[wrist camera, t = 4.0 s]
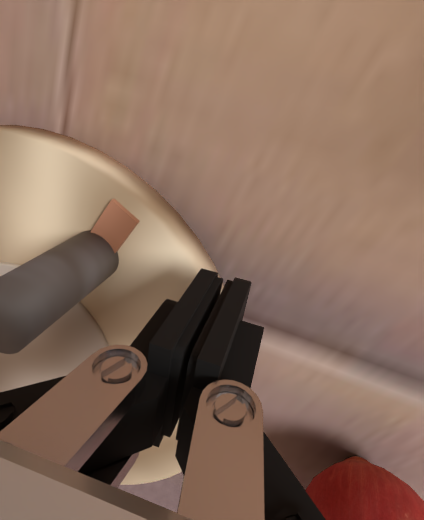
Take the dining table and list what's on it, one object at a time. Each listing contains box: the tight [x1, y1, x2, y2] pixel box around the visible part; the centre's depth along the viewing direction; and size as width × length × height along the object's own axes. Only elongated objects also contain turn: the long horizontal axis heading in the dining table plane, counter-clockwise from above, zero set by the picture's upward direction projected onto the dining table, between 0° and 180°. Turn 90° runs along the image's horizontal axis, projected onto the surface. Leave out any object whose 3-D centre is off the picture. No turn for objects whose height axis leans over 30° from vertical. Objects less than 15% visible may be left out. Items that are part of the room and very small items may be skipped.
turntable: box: [0, 125, 224, 485], centre depth 15 cm, size 20×20×6 cm
